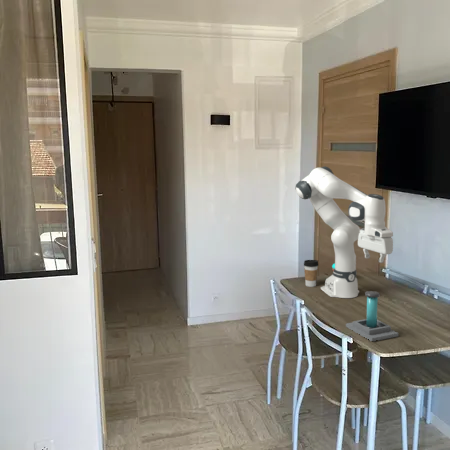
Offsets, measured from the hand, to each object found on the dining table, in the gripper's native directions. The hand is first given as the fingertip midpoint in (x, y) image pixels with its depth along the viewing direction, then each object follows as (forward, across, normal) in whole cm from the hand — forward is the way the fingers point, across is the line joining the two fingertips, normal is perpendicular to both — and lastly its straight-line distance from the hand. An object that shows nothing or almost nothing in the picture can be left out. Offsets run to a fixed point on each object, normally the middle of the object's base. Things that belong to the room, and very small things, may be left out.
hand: (374, 260), depth 214 cm
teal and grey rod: (+28, +10, -8) cm, 31 cm away
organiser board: (+29, +10, -8) cm, 32 cm away
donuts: (+29, -62, +26) cm, 73 cm away
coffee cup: (+29, -60, +4) cm, 67 cm away
